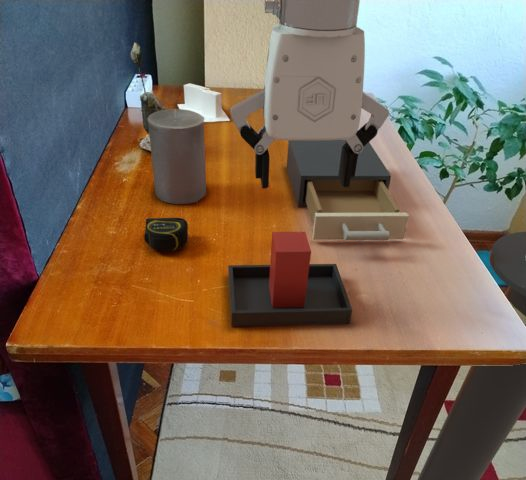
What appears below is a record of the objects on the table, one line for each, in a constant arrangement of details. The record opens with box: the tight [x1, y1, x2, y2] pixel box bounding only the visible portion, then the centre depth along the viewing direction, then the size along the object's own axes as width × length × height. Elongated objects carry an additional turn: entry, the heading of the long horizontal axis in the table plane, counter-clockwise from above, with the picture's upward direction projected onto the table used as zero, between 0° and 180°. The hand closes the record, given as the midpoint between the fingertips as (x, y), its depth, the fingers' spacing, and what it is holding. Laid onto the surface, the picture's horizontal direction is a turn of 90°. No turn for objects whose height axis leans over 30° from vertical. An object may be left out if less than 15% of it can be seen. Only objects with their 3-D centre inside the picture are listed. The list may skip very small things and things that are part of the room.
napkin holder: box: [177, 82, 231, 123], centre depth 126 cm, size 15×11×6 cm
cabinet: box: [286, 139, 392, 208], centre depth 96 cm, size 18×17×6 cm
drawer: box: [304, 180, 410, 241], centre depth 85 cm, size 21×15×4 cm
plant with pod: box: [130, 42, 167, 152], centre depth 102 cm, size 8×11×20 cm
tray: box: [227, 263, 354, 328], centre depth 69 cm, size 16×11×2 cm
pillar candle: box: [148, 108, 207, 205], centre depth 88 cm, size 10×10×15 cm
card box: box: [269, 231, 312, 308], centre depth 67 cm, size 4×5×9 cm
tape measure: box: [143, 217, 189, 252], centre depth 78 cm, size 7×7×4 cm
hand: (304, 182), depth 58 cm, fingers open, 9 cm apart
